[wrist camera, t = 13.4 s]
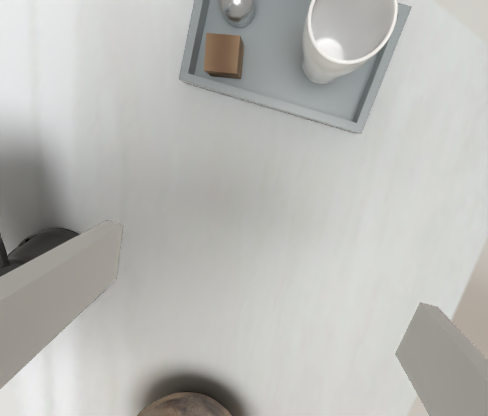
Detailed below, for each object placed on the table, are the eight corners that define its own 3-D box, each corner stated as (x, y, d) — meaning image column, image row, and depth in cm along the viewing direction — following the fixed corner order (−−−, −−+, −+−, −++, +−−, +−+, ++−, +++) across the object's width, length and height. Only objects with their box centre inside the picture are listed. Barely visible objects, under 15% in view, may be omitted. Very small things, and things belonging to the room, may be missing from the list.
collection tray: (186, 83, 39) (178, 79, 36) (210, -35, 35) (204, -51, 32) (354, 133, 38) (361, 133, 35) (400, 17, 34) (411, 6, 31)
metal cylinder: (220, 23, 36) (213, 10, 32) (229, -13, 35) (222, -30, 31) (250, 32, 36) (247, 20, 32) (259, -4, 35) (257, -21, 31)
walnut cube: (211, 76, 38) (203, 70, 34) (213, 43, 37) (206, 32, 33) (241, 79, 37) (236, 73, 33) (244, 45, 36) (240, 35, 32)
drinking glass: (326, 19, 34) (359, -62, 20) (362, 61, 35) (419, 13, 21) (284, 62, 36) (288, 18, 22) (319, 102, 37) (345, 84, 22)
